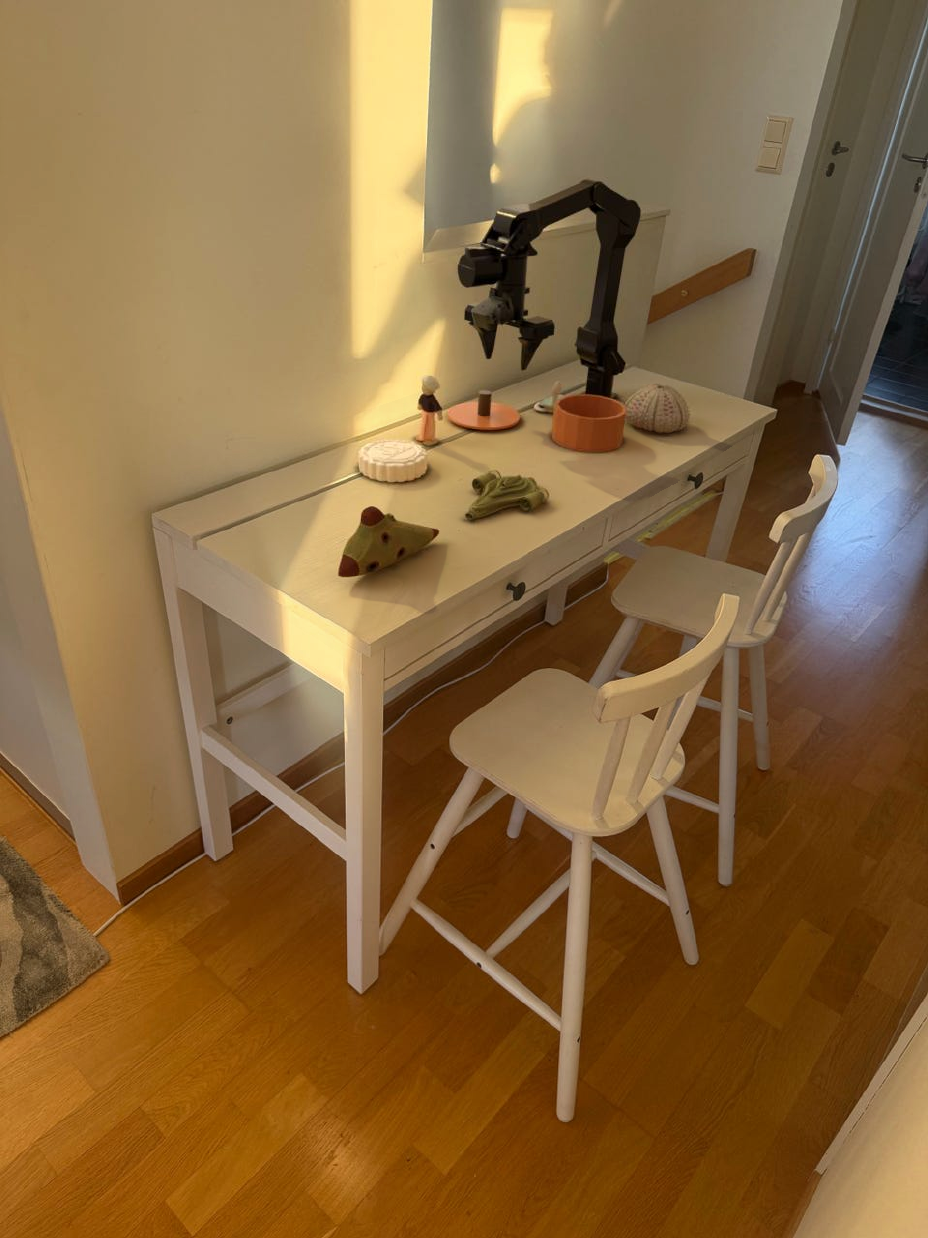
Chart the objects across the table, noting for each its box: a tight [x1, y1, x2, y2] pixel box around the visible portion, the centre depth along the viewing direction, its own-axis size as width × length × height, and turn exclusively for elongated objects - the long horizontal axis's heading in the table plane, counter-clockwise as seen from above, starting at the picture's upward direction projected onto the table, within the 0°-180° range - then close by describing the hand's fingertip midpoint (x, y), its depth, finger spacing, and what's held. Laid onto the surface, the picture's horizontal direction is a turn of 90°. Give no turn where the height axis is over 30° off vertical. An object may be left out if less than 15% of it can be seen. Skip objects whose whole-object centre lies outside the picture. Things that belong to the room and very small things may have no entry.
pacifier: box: [533, 380, 565, 414], centre depth 184 cm, size 7×6×6 cm
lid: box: [447, 389, 521, 431], centre depth 178 cm, size 15×15×6 cm
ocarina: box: [337, 505, 440, 578], centre depth 127 cm, size 20×5×10 cm, turn 138°
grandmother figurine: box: [415, 374, 444, 446], centre depth 165 cm, size 8×4×13 cm, turn 47°
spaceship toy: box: [464, 469, 550, 521], centre depth 147 cm, size 12×18×4 cm
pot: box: [550, 393, 627, 453], centre depth 172 cm, size 14×14×6 cm
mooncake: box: [358, 439, 428, 483], centre depth 156 cm, size 12×12×4 cm
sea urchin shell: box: [623, 383, 691, 434], centre depth 179 cm, size 13×14×8 cm
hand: (505, 364), depth 176 cm, fingers open, 9 cm apart
